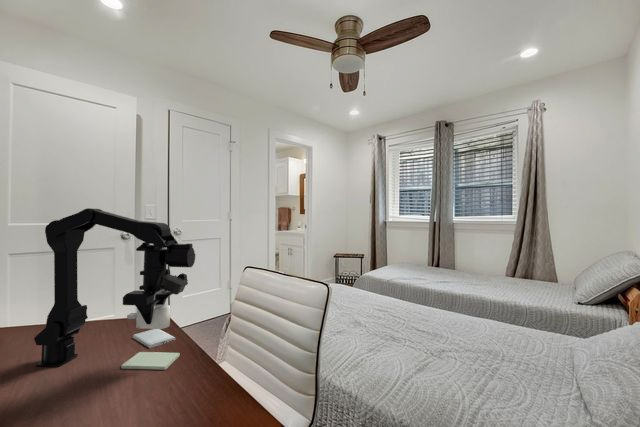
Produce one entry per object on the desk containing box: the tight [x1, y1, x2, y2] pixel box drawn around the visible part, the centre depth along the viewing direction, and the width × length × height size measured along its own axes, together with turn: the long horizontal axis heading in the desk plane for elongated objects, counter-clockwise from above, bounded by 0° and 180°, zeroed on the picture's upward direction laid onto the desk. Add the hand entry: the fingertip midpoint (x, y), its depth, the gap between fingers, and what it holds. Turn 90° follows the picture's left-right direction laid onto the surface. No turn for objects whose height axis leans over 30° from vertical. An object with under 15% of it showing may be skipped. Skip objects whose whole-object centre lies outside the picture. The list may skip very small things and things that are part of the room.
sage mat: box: [121, 351, 181, 371], centre depth 83 cm, size 12×8×1 cm, turn 90°
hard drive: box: [132, 329, 176, 349], centre depth 98 cm, size 2×8×12 cm
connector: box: [126, 304, 171, 330], centre depth 83 cm, size 11×4×6 cm, turn 90°
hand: (153, 321), depth 83 cm, fingers closed on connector, 4 cm apart
